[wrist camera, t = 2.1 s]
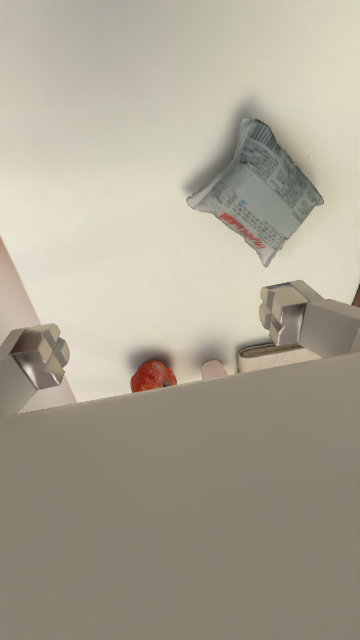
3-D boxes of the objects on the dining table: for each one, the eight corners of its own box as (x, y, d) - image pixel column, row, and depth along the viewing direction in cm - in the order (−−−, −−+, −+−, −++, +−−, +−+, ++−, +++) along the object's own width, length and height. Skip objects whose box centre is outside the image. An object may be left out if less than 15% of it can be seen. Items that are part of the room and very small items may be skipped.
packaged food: (256, 258, 31) (273, 276, 27) (182, 197, 26) (190, 208, 22) (313, 196, 28) (342, 206, 24) (240, 111, 22) (262, 105, 18)
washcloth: (325, 375, 48) (335, 388, 46) (234, 391, 48) (239, 406, 45) (342, 328, 41) (355, 341, 38) (235, 347, 40) (241, 361, 38)
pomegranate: (156, 377, 46) (198, 385, 39) (132, 413, 42) (176, 429, 35) (133, 350, 42) (176, 354, 35) (105, 386, 38) (147, 398, 31)
